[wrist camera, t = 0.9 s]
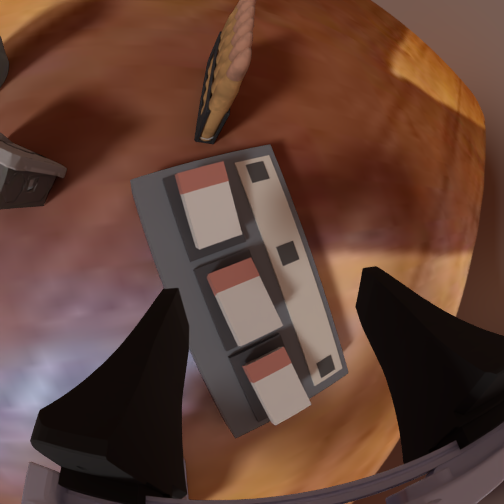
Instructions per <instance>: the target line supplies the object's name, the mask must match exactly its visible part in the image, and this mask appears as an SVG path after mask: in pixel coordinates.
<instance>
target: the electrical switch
mask: <svg viewBox="0 0 504 504" xmlns="http://www.w3.org/2000/svg"><path fill="white" fill-rule="evenodd" d="M66 170H67V168H65V167H64V166H63V165H61V164H59V163H57V162H55V161H52V160H50V159H48V158H46V157H44V156H42V155H39V154H37V153H35V152H32V151H30V150H28V149H26V148H23V147H21V146H19V145H17V144H15V143H12V142H11V141H10V140H9V139H8V138H7V137H5V136H4V135H3V134H2V133H0V192H1V193H0V209H10V208H23V207H36V206H44V203H45V200H46V198H47V195H48V192H49V191H50V189H51V187H52V185H53V182H54V180H55V178H56V176H58V177H61V178H64V176H65V173H66ZM6 202H7V203H6Z"/></svg>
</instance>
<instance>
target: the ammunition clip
mask: <svg viewBox="0 0 504 504" xmlns="http://www.w3.org/2000/svg"><path fill="white" fill-rule="evenodd" d="M255 3H256V0H239V2H238V4H237V6H236V7H235V9H234V11H233V12H232V14H231V15H230V16H229V18H228V20H227V22H226V24H225V26H224V28H223V31H222V32H220V33H219V35H218V38H217V40H216V42H215V45H214V47H213V49H212V52H211V54H210V57H209V59H208V62H207V67H206V73H205V78H204V83H203V89H202V95H201V100H200V106H199V113H198V119H197V126H196V132H195V139H194V140H195V141H196V142H203V143H209V144H214V142H215V141H216V139H217V137H218V135H219V133H220V131H221V129H222V127H223V126H224V124H225V122H226V120H227V118H228V116H229V115H230V106H231V104H232V103H233V101H234V99H235V97H236V96H237V94H238V92H239V89H240V84H241V82H242V80H243V78H244V76H245V74H246V72H247V70H248V67H249V65H250V61H251V56H252V50H251V46H252V41H253V27H254V15H255Z"/></svg>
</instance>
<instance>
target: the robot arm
mask: <svg viewBox="0 0 504 504" xmlns="http://www.w3.org/2000/svg"><path fill="white" fill-rule="evenodd" d="M356 310H357V313H358V316H359V319H360V322H361V325H362V327H363V330H364V332H365V334H366V336H367V338H368V340H369V342H370V344H371V346H372V348H373V350H374V352H375V355H376V357H377V359H378V361H379V363H380V365H381V367H382V369H383V372H384V374H385V377H386V380H387V383H388V386H389V390H390V393H391V396H392V400H393V404H394V408H395V412H396V416H397V421H398V426H399V431H400V437H401V445H402V453H403V462H404V464H403V465H401V466H398V467H396V468H393V469H390V470H388V471H385V472H382V473H379V474H376V475H373V476H369V477H366V478H363V479H360V480H356V481H352V482H349V483H345V484H341V485H337V486H333V487H329V488H324V489H319V490H314V491H309V492H303V493H298V494H291V495H284V496H276V497H267V498H257V499H242V500H189V498H188V488H187V477H186V464H185V460H184V458H183V445H182V396H183V388H184V381H185V373H186V366H187V359H188V351H189V323H188V320H187V316H186V313H185V309H184V306H183V302H182V299H181V295H180V291H179V288H168V289H163V290H162V291H161V293H160V294H159V295H158V297H157V298H156V299H155V301H154V302H153V304H152V305H151V307H150V308H149V309H148V311H147V312H146V313H145V315H144V316H143V318H142V319H141V320H140V322H139V323H138V324H137V326H136V327H135V328H134V330H133V331H132V332H131V333H130V334H129V336H128V337H127V338H126V339H125V341H124V342H123V343H122V344H121V345H120V347H119V348H118V349H117V350H116V351H115V352H114V353H113V354H112V355H111V356H110V357H109V358H108V359H107V360H106V361H105V362H104V363H103V364H102V365H101V366H100V367H99V368H98V369H97V370H95V371H94V372H93V373H92V374H91V375H90V376H89V377H88V378H86V379H85V380H84V381H83V382H81V383H80V384H79V385H78V386H76V387H75V388H74V389H72V390H71V391H69V392H68V393H67V394H65V395H64V396H62V397H61V398H59V399H58V400H56V401H54V402H53V403H51V404H49V405H48V406H46V407H44V408H43V409H41V410H40V411H39V413H38V417H37V420H36V423H35V426H34V429H33V433H32V436H31V440H30V441H31V444H32V446H33V447H34V448H35V449H36V450H37V451H39V452H40V453H41V454H43V455H44V456H46V457H47V458H49V459H50V460H52V461H53V462H55V463H56V464H58V465H60V466H61V471H60V473H59V472H57V471H55V470H52V469H49V468H47V467H44V466H41V465H39V464H36V463H33V462H29V465H28V470H27V475H26V480H25V485H24V490H23V496H22V503H21V504H344V503H348V502H351V501H355V500H358V499H361V498H365V497H368V496H371V495H374V494H377V493H380V492H383V491H386V490H388V489H391V488H394V487H396V486H399V485H401V484H404V483H406V482H409V481H411V480H414V479H416V478H418V477H420V476H423V475H425V474H427V473H428V474H427V475H426V477H425V478H424V479H422V480H420V481H419V482H416V483H414V484H412V485H410V486H407V487H406V488H404V489H403V490H401V491H399V492H397V493H395V494H393V495H391V496H389V497H387V498H386V503H387V504H476V503H478V502H479V501H480V500H481V499H483V498H484V497H485V496H486V495H487V494H489V493H490V492H491V491H492V490H493V489H495V488H496V487H497V486H498V485H499V484H500V483H501V482H502V481H504V336H502V335H499V334H496V333H493V332H490V331H486V330H484V329H481V328H479V327H476V326H474V325H472V324H469V323H467V322H465V321H463V320H461V319H458V318H457V317H455V316H453V315H451V314H449V313H447V312H445V311H443V310H442V309H440V308H438V307H437V306H435V305H433V304H432V303H430V302H429V301H427V300H425V299H424V298H422V297H421V296H419V295H418V294H416V293H415V292H413V291H412V290H411V289H409V288H408V287H406V286H405V285H403V284H402V283H401V282H399V281H398V280H396V279H395V278H393V277H392V276H390V275H389V274H388V273H386V272H385V271H383V270H381V269H380V268H378V267H376V266H375V267H368V268H363V271H362V276H361V282H360V287H359V292H358V297H357V302H356Z"/></svg>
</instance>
